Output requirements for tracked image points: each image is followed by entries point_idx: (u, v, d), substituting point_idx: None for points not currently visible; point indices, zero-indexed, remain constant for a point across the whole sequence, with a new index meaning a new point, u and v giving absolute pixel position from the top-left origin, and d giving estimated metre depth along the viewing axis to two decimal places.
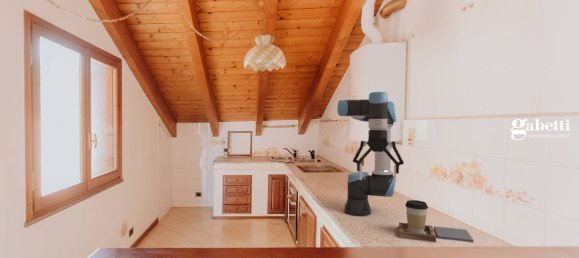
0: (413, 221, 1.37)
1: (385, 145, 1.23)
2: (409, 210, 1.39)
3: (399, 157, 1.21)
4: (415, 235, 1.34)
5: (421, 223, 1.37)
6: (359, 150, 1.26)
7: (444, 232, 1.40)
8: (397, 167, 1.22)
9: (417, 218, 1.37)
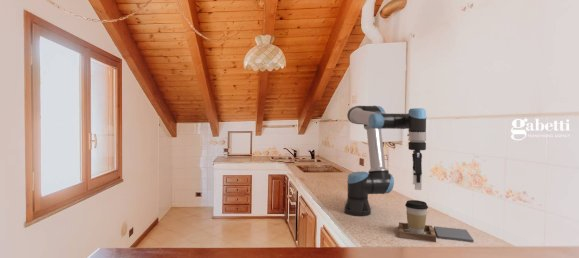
0: (413, 221, 1.37)
1: (415, 155, 1.38)
2: (409, 210, 1.39)
3: (415, 167, 1.32)
4: (415, 235, 1.34)
5: (421, 223, 1.37)
6: None
7: (444, 232, 1.40)
8: (416, 176, 1.33)
9: (417, 218, 1.37)
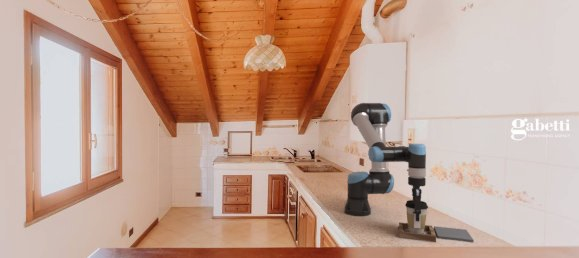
0: None
1: (414, 191, 1.38)
2: (409, 210, 1.39)
3: (414, 206, 1.34)
4: (415, 235, 1.34)
5: (422, 223, 1.37)
6: None
7: (444, 232, 1.40)
8: (415, 215, 1.35)
9: None
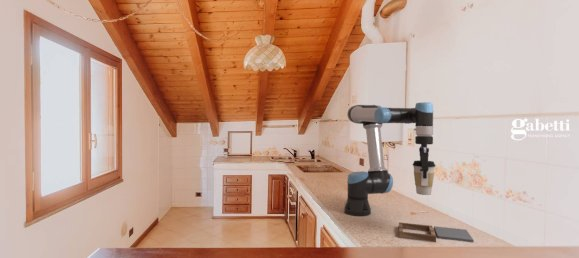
0: None
1: (421, 150, 1.38)
2: (416, 169, 1.38)
3: (422, 163, 1.33)
4: (415, 235, 1.34)
5: (429, 181, 1.36)
6: None
7: (444, 232, 1.40)
8: (423, 172, 1.34)
9: None
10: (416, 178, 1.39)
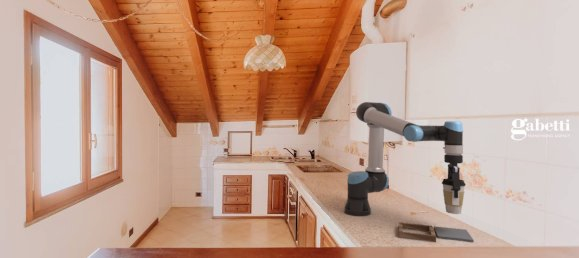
0: (451, 198, 1.37)
1: (451, 169, 1.37)
2: (446, 187, 1.38)
3: (453, 182, 1.33)
4: (415, 235, 1.34)
5: (460, 200, 1.36)
6: None
7: (444, 232, 1.40)
8: (454, 192, 1.34)
9: None
10: (446, 197, 1.39)
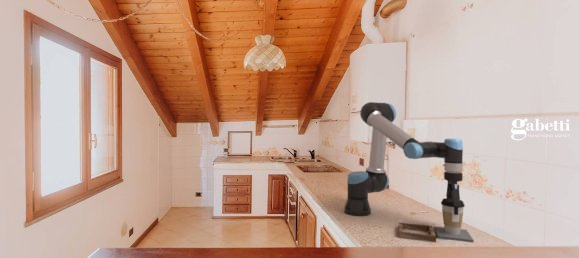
0: (450, 219, 1.37)
1: (451, 186, 1.37)
2: (446, 208, 1.39)
3: (453, 199, 1.32)
4: (415, 235, 1.34)
5: (459, 221, 1.37)
6: (447, 187, 1.47)
7: (444, 232, 1.40)
8: (454, 208, 1.33)
9: None
10: (445, 217, 1.39)
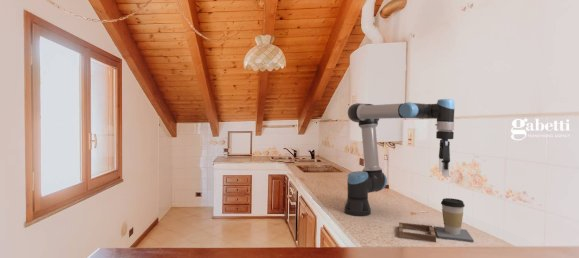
0: (450, 219, 1.37)
1: (442, 144, 1.45)
2: (446, 208, 1.39)
3: (443, 155, 1.40)
4: (415, 235, 1.34)
5: (459, 221, 1.37)
6: None
7: (444, 232, 1.40)
8: (444, 164, 1.41)
9: (454, 216, 1.37)
10: (445, 217, 1.39)
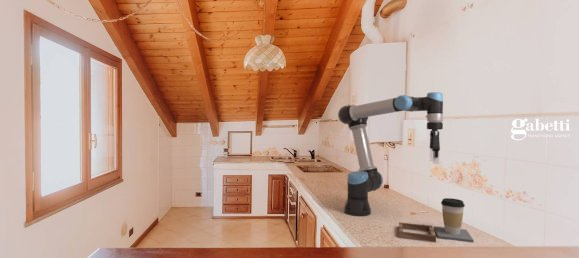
0: (450, 219, 1.37)
1: (433, 134, 1.55)
2: (446, 208, 1.39)
3: (434, 144, 1.50)
4: (415, 235, 1.34)
5: (459, 221, 1.37)
6: None
7: (444, 232, 1.40)
8: (434, 152, 1.51)
9: (454, 216, 1.37)
10: (445, 217, 1.39)
